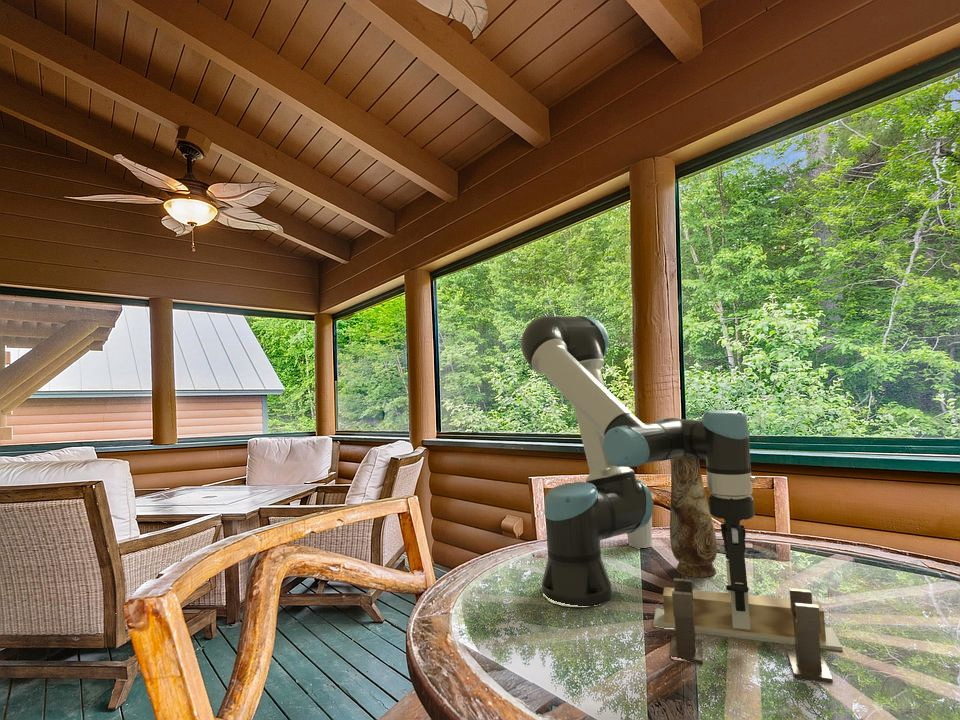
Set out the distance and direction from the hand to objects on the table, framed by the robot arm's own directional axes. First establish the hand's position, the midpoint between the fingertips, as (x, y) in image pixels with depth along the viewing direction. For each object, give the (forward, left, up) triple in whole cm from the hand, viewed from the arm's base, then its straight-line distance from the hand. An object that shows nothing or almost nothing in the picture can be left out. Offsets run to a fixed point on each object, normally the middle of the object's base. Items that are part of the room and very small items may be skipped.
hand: (738, 610), depth 96 cm
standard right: (+9, -11, -3) cm, 14 cm away
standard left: (-9, -11, -3) cm, 14 cm away
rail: (0, 0, -3) cm, 3 cm away
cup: (-22, +44, -4) cm, 49 cm away
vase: (-8, +28, -4) cm, 29 cm away
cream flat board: (0, 0, -3) cm, 3 cm away
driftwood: (+2, +44, -4) cm, 44 cm away
